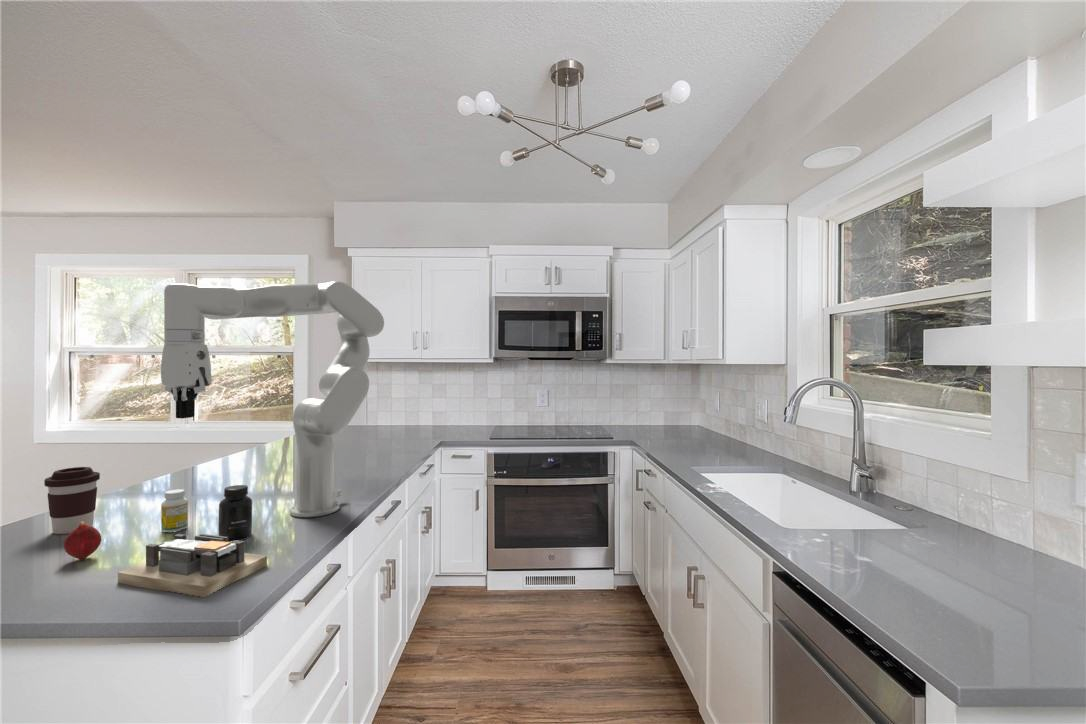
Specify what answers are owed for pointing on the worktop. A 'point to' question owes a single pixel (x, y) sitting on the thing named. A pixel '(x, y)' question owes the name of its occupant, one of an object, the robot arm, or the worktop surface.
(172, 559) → the heatsink base
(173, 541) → the strap
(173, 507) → the supplement bottle
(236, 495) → the supplement bottle
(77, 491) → the coffee cup
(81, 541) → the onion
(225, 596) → the worktop surface
